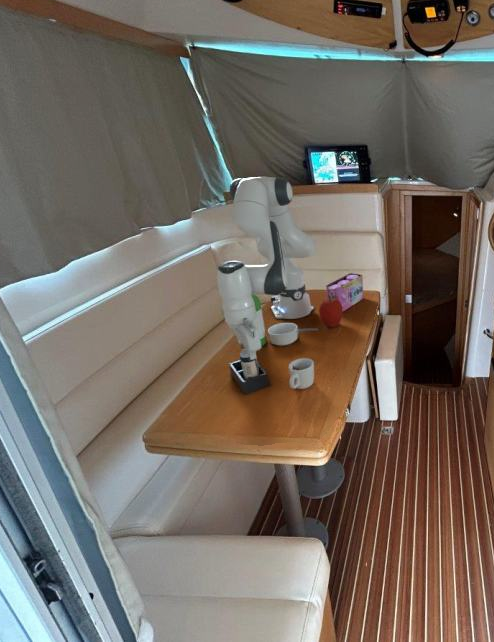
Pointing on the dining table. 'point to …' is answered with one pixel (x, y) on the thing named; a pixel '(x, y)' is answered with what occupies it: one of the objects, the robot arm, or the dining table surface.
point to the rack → (250, 383)
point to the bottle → (259, 320)
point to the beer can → (249, 365)
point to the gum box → (346, 290)
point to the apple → (331, 312)
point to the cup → (301, 373)
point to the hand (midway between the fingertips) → (247, 352)
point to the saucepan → (285, 333)
